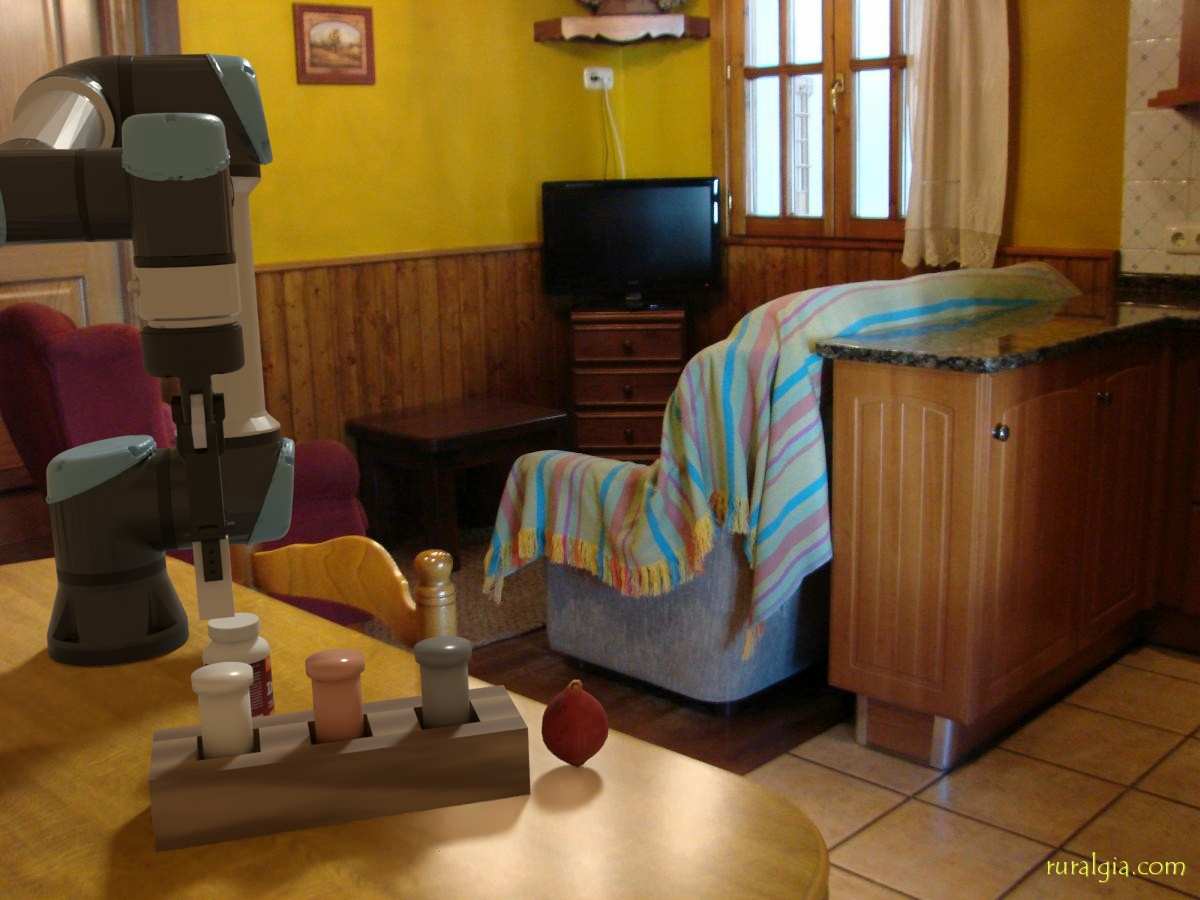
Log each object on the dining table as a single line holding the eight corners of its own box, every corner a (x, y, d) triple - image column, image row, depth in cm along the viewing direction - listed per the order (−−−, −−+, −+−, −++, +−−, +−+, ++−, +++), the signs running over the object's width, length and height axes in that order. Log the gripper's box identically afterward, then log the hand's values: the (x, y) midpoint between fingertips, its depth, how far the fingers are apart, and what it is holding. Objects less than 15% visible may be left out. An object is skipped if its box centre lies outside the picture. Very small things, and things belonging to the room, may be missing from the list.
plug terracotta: (310, 741, 112) (303, 652, 111) (367, 733, 114) (361, 645, 112) (314, 764, 108) (307, 672, 106) (373, 756, 109) (367, 665, 107)
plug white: (200, 756, 110) (191, 666, 108) (259, 748, 111) (251, 658, 110) (199, 781, 105) (190, 686, 104) (261, 772, 107) (253, 679, 105)
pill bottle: (286, 733, 125) (277, 622, 122) (221, 750, 121) (211, 636, 119) (263, 712, 130) (254, 605, 127) (200, 728, 126) (190, 618, 124)
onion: (560, 786, 112) (557, 698, 110) (532, 761, 117) (528, 676, 115) (620, 771, 115) (618, 684, 113) (590, 747, 120) (587, 663, 118)
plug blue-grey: (415, 727, 115) (410, 639, 113) (470, 719, 116) (465, 633, 114) (423, 749, 110) (418, 658, 109) (480, 741, 111) (476, 651, 110)
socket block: (160, 796, 112) (154, 730, 111) (506, 746, 120) (503, 684, 119) (155, 852, 103) (148, 780, 102) (530, 794, 111) (528, 727, 110)
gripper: (143, 316, 106) (170, 597, 111) (134, 332, 94) (165, 647, 98) (240, 311, 108) (262, 588, 113) (243, 326, 96) (268, 635, 100)
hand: (217, 615), depth 106 cm, fingers closed
